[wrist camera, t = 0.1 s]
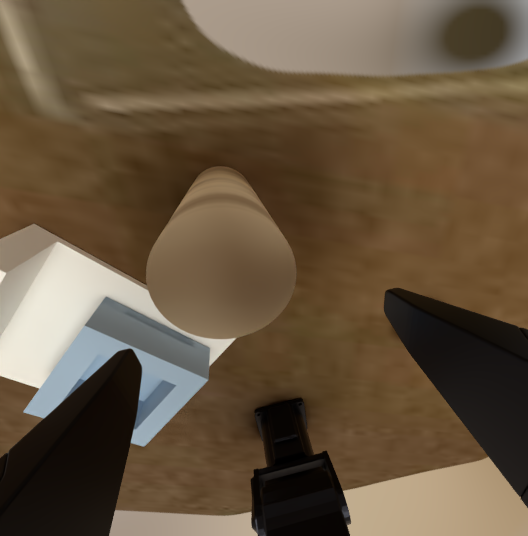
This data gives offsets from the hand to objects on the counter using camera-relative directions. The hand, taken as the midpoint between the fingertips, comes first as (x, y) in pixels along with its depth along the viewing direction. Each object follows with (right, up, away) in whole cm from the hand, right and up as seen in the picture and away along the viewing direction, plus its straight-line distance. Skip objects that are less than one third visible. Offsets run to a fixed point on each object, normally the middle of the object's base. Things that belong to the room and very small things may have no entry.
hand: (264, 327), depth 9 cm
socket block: (-13, -7, +17) cm, 23 cm away
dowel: (-3, +8, +12) cm, 15 cm away
